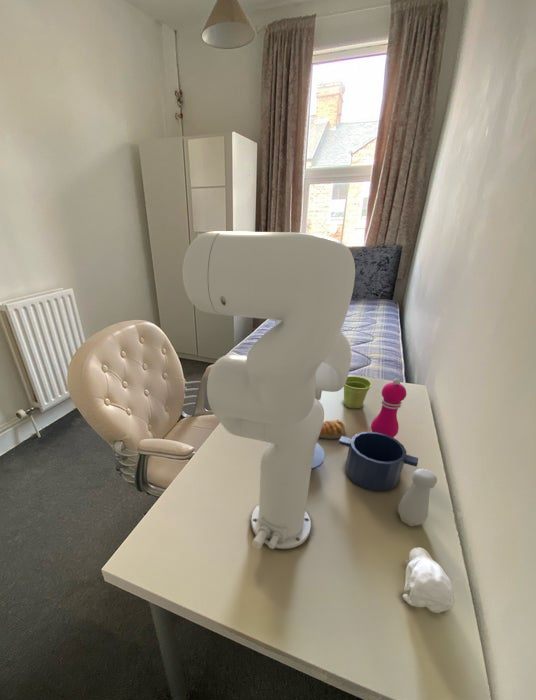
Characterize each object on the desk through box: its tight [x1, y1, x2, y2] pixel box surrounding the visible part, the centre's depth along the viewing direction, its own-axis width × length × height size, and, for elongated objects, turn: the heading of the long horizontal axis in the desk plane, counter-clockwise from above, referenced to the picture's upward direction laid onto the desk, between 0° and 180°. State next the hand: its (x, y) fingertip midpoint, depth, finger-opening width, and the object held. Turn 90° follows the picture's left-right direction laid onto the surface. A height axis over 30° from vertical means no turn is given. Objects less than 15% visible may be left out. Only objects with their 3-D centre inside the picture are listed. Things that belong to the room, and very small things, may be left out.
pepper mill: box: [370, 378, 407, 439], centre depth 92 cm, size 7×7×20 cm
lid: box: [311, 442, 326, 471], centre depth 87 cm, size 14×14×6 cm
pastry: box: [319, 419, 347, 440], centre depth 99 cm, size 9×7×4 cm
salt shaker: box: [397, 468, 438, 527], centre depth 69 cm, size 6×6×13 cm
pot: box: [338, 431, 419, 492], centre depth 83 cm, size 13×18×8 cm
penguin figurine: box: [402, 546, 455, 614], centre depth 57 cm, size 6×8×12 cm
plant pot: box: [343, 375, 373, 409], centre depth 113 cm, size 9×9×9 cm
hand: (298, 450), depth 88 cm, fingers closed on lid, 2 cm apart
